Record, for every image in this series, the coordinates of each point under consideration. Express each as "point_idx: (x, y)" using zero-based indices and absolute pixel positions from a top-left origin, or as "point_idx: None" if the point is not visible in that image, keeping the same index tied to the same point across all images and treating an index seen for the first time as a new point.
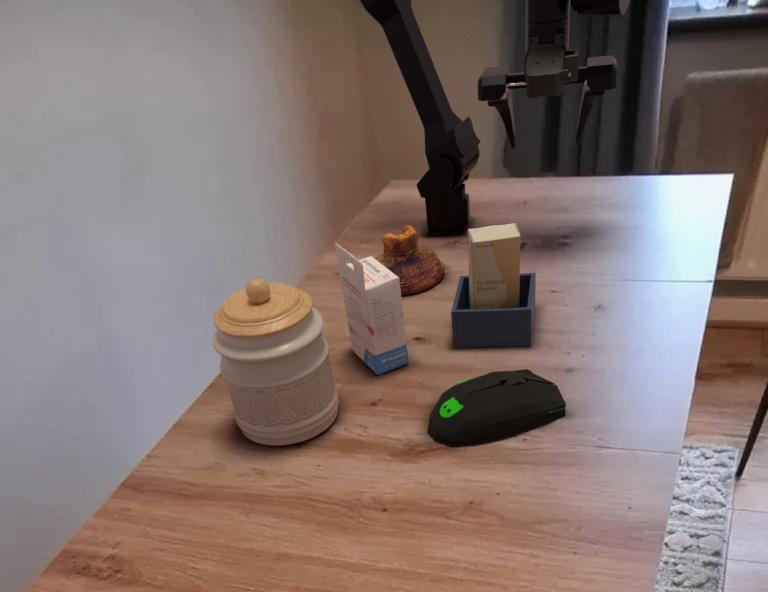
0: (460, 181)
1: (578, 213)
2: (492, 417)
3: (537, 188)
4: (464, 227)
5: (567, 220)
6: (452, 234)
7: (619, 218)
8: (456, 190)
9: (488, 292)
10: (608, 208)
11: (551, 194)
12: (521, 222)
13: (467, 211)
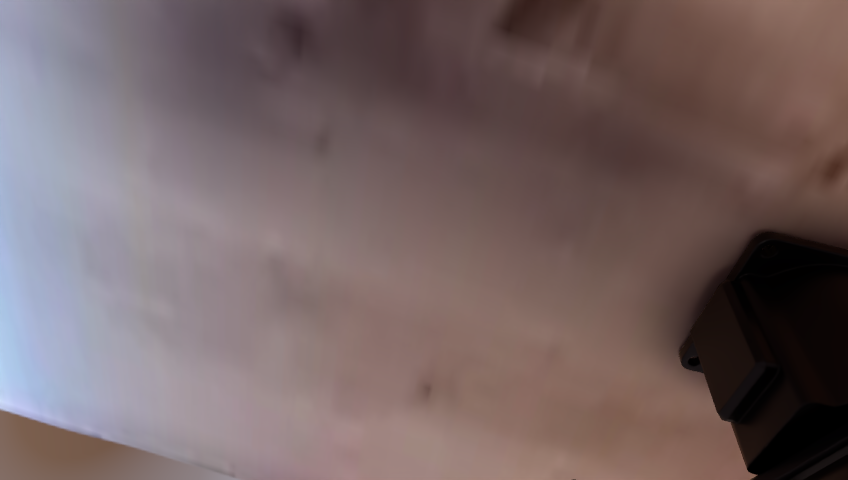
0: (789, 477)
1: (229, 248)
2: None
3: (366, 463)
4: (744, 272)
5: (276, 204)
6: (815, 243)
7: (55, 145)
8: (832, 422)
9: None
10: (112, 247)
11: (323, 413)
12: (471, 254)
13: (743, 324)
